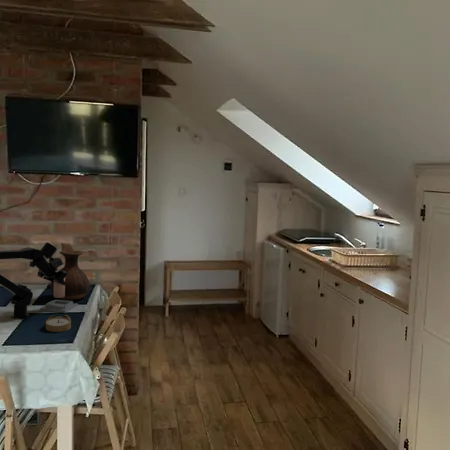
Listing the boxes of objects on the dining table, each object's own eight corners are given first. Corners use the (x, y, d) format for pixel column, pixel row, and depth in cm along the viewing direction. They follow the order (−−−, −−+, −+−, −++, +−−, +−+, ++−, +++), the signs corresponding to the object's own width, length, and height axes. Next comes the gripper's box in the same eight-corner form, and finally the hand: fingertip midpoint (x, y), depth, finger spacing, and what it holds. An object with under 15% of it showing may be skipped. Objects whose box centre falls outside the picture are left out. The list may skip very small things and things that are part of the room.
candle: (65, 297, 265) (66, 270, 263) (54, 298, 262) (55, 271, 261) (63, 294, 270) (64, 268, 268) (52, 295, 267) (53, 269, 265)
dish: (65, 312, 259) (65, 307, 258) (40, 310, 261) (40, 305, 261) (77, 305, 272) (77, 300, 272) (53, 303, 275) (53, 298, 274)
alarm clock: (44, 326, 227) (47, 311, 241) (44, 336, 228) (47, 321, 242) (70, 326, 230) (71, 311, 244) (70, 335, 231) (71, 320, 245)
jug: (95, 294, 298) (96, 244, 295) (81, 303, 277) (82, 249, 274) (60, 291, 300) (60, 242, 297) (43, 300, 279) (44, 247, 276)
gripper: (64, 256, 255) (81, 274, 265) (42, 251, 266) (60, 269, 276) (50, 273, 249) (68, 291, 259) (29, 267, 260) (47, 285, 270)
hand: (61, 283), depth 266 cm, fingers closed on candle, 6 cm apart
